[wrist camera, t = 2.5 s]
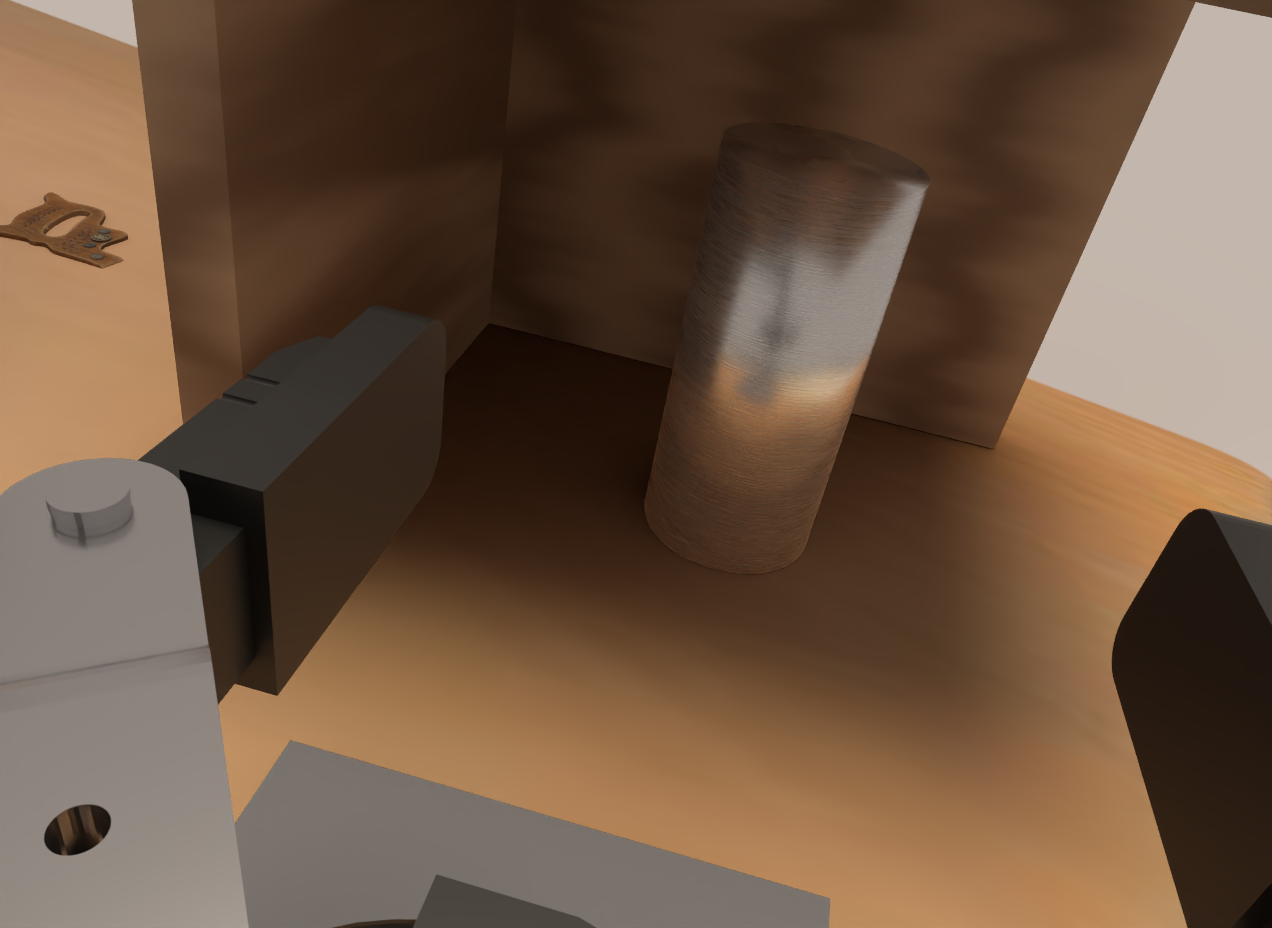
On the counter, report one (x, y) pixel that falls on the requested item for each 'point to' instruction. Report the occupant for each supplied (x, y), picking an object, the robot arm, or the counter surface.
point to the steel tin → (776, 339)
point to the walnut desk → (626, 167)
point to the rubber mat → (468, 857)
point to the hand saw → (76, 244)
